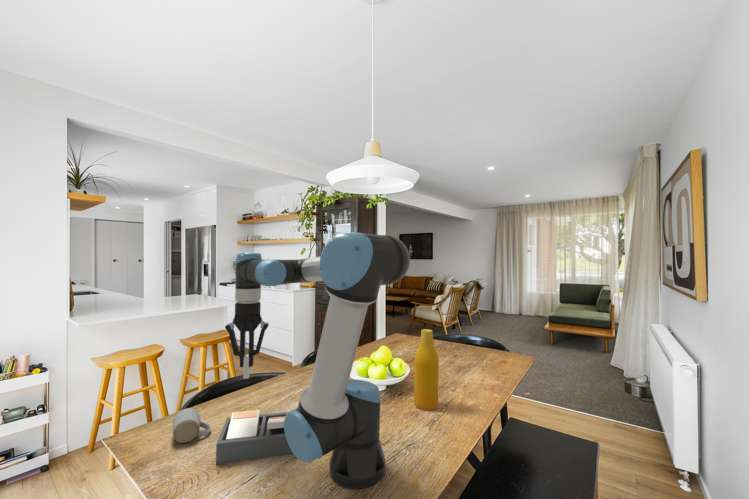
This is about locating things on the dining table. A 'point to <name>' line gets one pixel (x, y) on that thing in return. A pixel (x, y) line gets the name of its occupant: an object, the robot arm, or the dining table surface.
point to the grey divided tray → (255, 441)
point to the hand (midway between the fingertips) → (246, 376)
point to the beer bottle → (426, 373)
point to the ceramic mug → (188, 426)
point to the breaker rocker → (243, 425)
